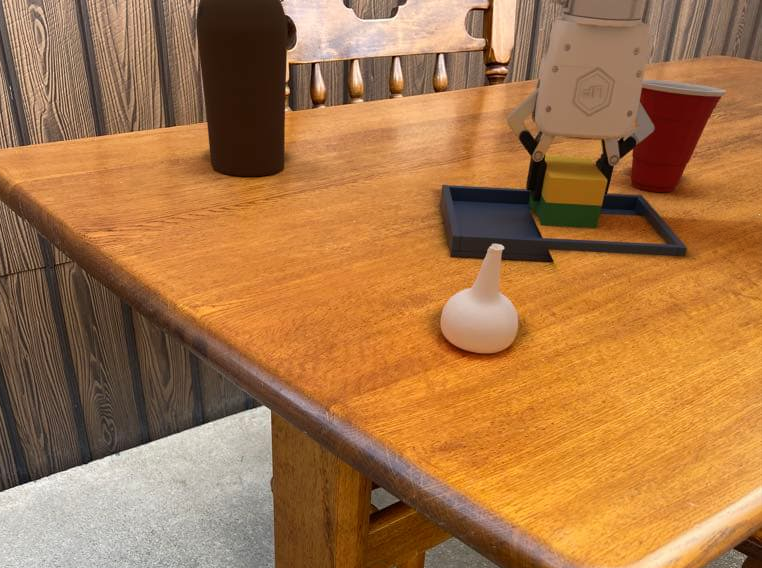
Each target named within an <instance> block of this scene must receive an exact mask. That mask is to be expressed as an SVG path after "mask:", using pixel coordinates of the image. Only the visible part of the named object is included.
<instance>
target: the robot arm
mask: <svg viewBox="0 0 762 568" xmlns="http://www.w3.org/2000/svg"><path fill="white" fill-rule="evenodd" d="M646 2H647V0H550V3H551V4H557V5H558V6H560V7H561V10H562V11H563V13H562V16H556V17H555V20H554V22H553V25H552V27H551V31H550V33H549V35H548V36H549V37H548V39H547V44H546V46H545V50H544V55H543V59H542V61H541V65H540V69H539V74H538V77H537V80H536V81H537V82H536V85H535V89H534V91H532V92H531V93H530V94H529V95H528V96H527V97H525V99H523V101H521V102H520V103H519V104H518V105H517V106H516V107H515V108H514V109H513V110H512V111H510V112H509V114H507V116H506V118H505V121H506V123H507V125H508V127H509V128H510V129H511V131H512V132H513V133H514V135H515V136H516V137H517V139H518V141H519V142H520V143H521V145H522V146H523V147H524V149H525V150H526V151H527V153H528V154H529V155H530V161H529V165H528V173H527V178H526V184H525V186H526V187H525V189H527V190H530V195H531V197H532V199H533V201H539V200H540V198H541V193H542V187H543V182H544V177H545V171H546V168H547V163H546V161H545V156H546V155H547V152H548V150H549V148H551V147H550V146H551V145H552V143H553V141H554V140H555V138H556V137H565V138H583V139H600V147H601V154H600V157H598V158H597V160H595V165H596V166H597V167H598V169H599V170H600V171H601V172H602V174H603V175H604V176H605V178H606V179H607V180H608V181H607V186H606V190H605V195H606V194H607V193H609V188H610V184H611V180H612V176H613V172H614V167H615V166H617V165H618V164H619V163H620V160H622V159H623V158H624V157H625V156H627V154H629V153H630V152H632V151H633V149H634V148H635V146H636V145H637V144H638V143H640V142H641V141H642V140H644V139H645V138H646V137H647V136H649V135H650V134H651V133H652V132H653V131H654V125H653V123H652V121H651V120H650V118H649V116H648V115H647V113H646V111H645V109H644V108H643V106H642V104H641V103H640V95H641V89H642V84H643V79H645V78H644V77H645V69H646V63H647V57H648V48H649V39H650V37H649V36H650V35H649V34H650V25H649V24H648V23H647V24H646V23H645V22H642V21H643V20H642V19H643V15H644V11H645V7H646ZM530 115H531V120H532V121H533V123H534V124H535V127H536V128H537V129H538V130H537V132H536V134H535V135H534V136H533V135H532V133H531V132H530V131H529V129H528V128H527V126H526V125H525V121H526V119H527V118H528V117H529V116H530ZM635 123H636V124H635Z"/></svg>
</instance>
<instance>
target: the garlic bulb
mask: <svg viewBox="0 0 762 568" xmlns="http://www.w3.org/2000/svg"><path fill="white" fill-rule="evenodd" d="M502 250H504V246H502V245H499V244H492V246H490V247H489V249H488V250H487V254H486V256H485V258H483V261H482V264H481V266H480V269H479V271H478V274H477V276H476V279H475V280H474V283H473V284H472V286H471V287H468V288H465V289H462V290H460V291H458V292H457V293H455V294H453V295H452V296H451V297H450V298H449V299H448V300H447V301H446V303H445V304H444V306H443V308H442V312H441V315H440V329H441V330H440V331H441V332H442V334H443V336H444V338H445V339H446V340H447V341H448V342H449V343H450V344H452V345H454V346H455V347H456V348H459V349H462V350H464V351H466V352H471V353H475V354H495V353H500V352H502V351H504V350H506V349H508V348H509V347H510V346H511V345H512V344H513V342H514V341H515V339H516V337H517V334H518V330H519V317H518V312H517V310H516V307H515V305H514V304H513V302H512V301H511V300H510V299H509V298H508V297H507V296H506V295H505V294H503V293H501V292H500V291H501V289H500V284H501V283H500V282H501V281H500V278H501V277H500V276H501V266H502V265H501V264H502V259H501V255H502Z"/></svg>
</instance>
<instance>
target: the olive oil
mask: <svg viewBox="0 0 762 568" xmlns="http://www.w3.org/2000/svg"><path fill="white" fill-rule="evenodd" d="M195 30H196V31H195V32H196V38H197V46H198V57H199V62H200V63H199V65H200V72H201V81H202V88H203V89H202V90H203V98H204V106H205V115H206V125H207V136H208V146H209V155H210V157H209V158H210V164H211V168H212V169H214V170H215V171H217V172H218V173H222V174H225V175H230V176H238V177H263V176H270V175H274V174H277V173H279V172H281V171H282V170H283V169H284V168H285V147H286V145H285V143H286V142H285V137H286V134H285V133H286V125H285V124H286V93H287V92H286V91H287V90H286V89H287V63H288V62H287V61H288V60H287V59H288V36H289V35H288V32H289V31H288V21H287V16H286V13H285V9H284V6H283V3H282V2H281V0H199V3H198V6H197V12H196V18H195Z"/></svg>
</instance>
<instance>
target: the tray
mask: <svg viewBox="0 0 762 568" xmlns="http://www.w3.org/2000/svg"><path fill="white" fill-rule="evenodd" d="M529 198H530V190H527V189H526V188H515V187H514V188H511V187H493V186H473V185H455V184H454V185H453V184H442V185H441V193H440V200H439V201H440V202H439V203H440V204H439V205H440V208H441V214H442V219H443V224H444V230H445V234H446V239H447V244H448V249H449V255H450V257H454V258H473V259H485V256H486V254H487V250H488V249H489V247H490V246H492V244H499V245H502V246H504V250H502V255H501V260H512V261H513V260H514V261H530V262H531V261H533V262H551V263H553V262H555V261H554V259H553V255H552V254H551V252H550V250H553V251H554V250H555V251H572V252H574V251H575V252H590V253H591V252H592V253H593V252H594V253H611V254H630V255H631V254H632V255H650V256H670V257H686V253H687V249H688V247H687V246H686V245H685V243H684V242H683V241H682V240H681V239H680V238H679V237H678V235H677V234H676V233H675V232H674V231H673V230H672V228H671V227H670V226H669V225H668V224H667V222H665V220H664V219H663V218H662V217H661V216H660V215H659V213H658V212H657V211H656V210H655V209H654V208H653V207H652V205H651V204H650V202H648V200H647V199H646V198H645V197H644V196H643V194H626V193H609V192H608V193H607V194H606V195H605V194H604V198H603V202H602V205H601V206H602V207H601V211H600V215H611V216H633V217H644V218H645V219H646V220H647V221H648V222H649V224H650V225H651V227H653V229H654V230H655V231H656V233H658V235H659V236H660V237H661V238H662V239H663V241H664V242H665V243H649V242H633V241H632V242H631V241H630V242H629V241H612V240H611V241H609V240H591V239H590V240H589V239H572V238H571V239H570V238H555V237H554V238H551V237H543V236H542V234H541V233H542V232H541V231H540V229H539V226H538V224H537V223H536V220H535V219H534V216H533V214H532V212H531V211H532V210H531V208H530V206H529Z"/></svg>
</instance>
